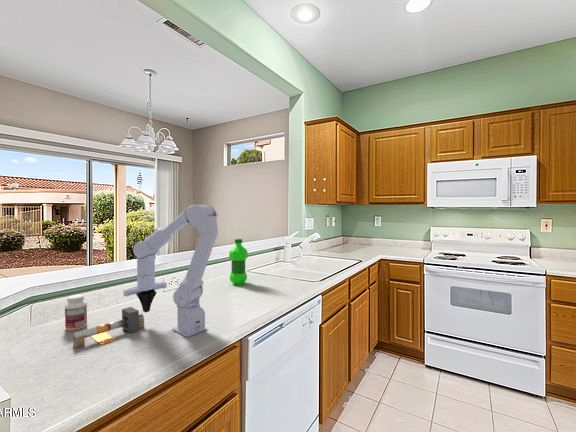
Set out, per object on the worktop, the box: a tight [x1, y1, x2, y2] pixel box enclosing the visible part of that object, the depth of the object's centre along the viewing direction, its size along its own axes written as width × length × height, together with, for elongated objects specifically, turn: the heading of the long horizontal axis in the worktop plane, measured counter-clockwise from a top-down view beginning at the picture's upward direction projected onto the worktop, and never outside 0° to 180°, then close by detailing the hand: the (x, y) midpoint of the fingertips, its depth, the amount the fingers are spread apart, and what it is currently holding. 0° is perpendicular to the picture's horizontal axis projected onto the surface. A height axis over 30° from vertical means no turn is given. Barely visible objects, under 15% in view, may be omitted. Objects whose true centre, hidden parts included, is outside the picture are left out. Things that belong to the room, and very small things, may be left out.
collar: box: [121, 306, 140, 333], centre depth 99 cm, size 3×6×7 cm, turn 52°
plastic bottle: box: [228, 238, 249, 286], centre depth 161 cm, size 10×10×25 cm
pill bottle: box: [64, 294, 88, 331], centre depth 101 cm, size 6×6×11 cm
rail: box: [72, 313, 145, 350], centre depth 95 cm, size 20×9×4 cm, turn 142°
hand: (146, 311), depth 104 cm, fingers closed
